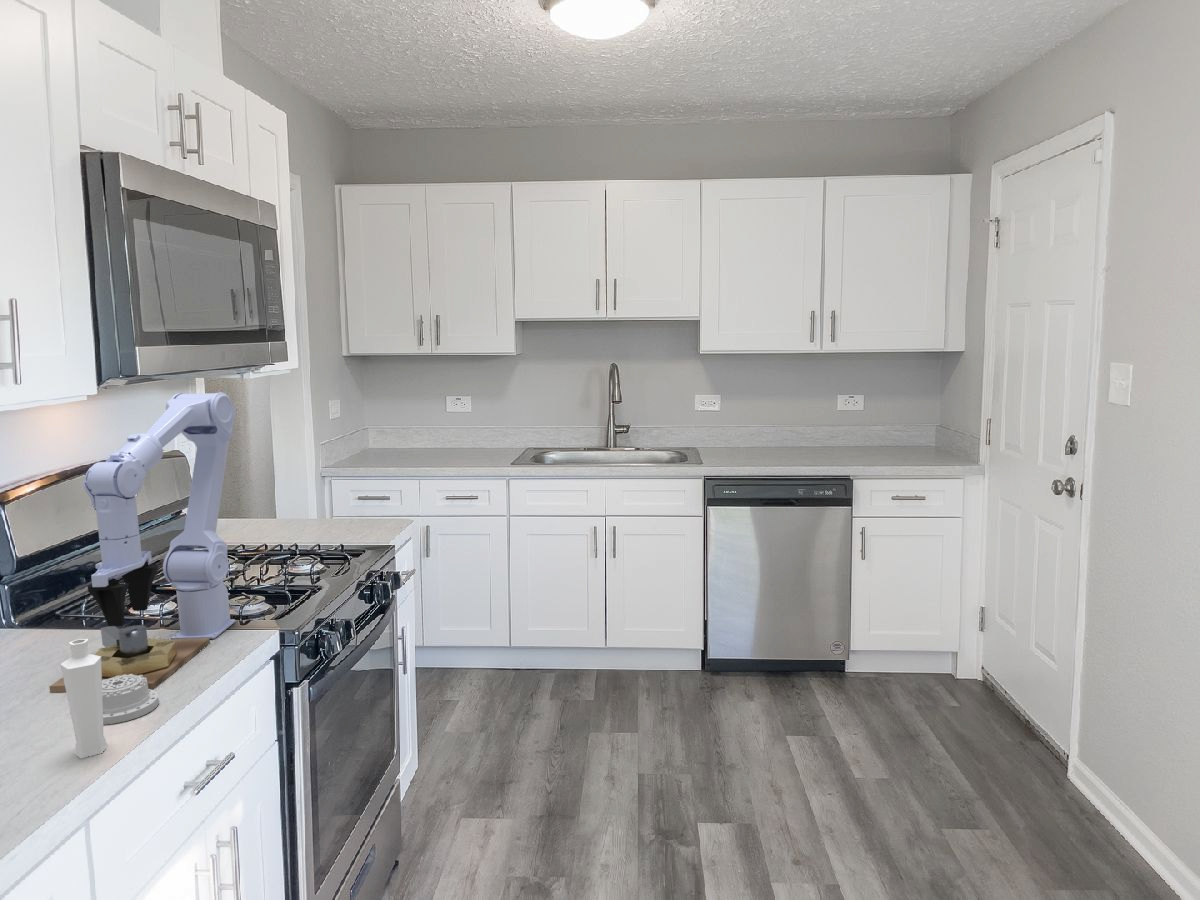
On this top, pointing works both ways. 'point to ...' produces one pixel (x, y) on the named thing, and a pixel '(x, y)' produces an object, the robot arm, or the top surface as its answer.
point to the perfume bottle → (85, 698)
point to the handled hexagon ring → (115, 665)
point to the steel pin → (133, 641)
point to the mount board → (156, 677)
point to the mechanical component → (126, 698)
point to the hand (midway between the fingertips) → (128, 617)
